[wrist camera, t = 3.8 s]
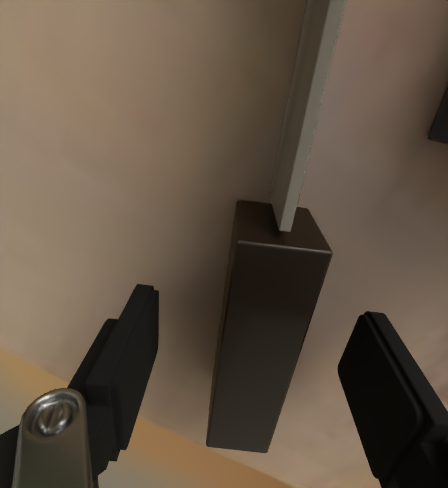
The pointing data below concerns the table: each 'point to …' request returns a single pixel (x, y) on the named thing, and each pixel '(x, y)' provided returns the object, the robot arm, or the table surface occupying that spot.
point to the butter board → (440, 123)
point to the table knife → (274, 264)
